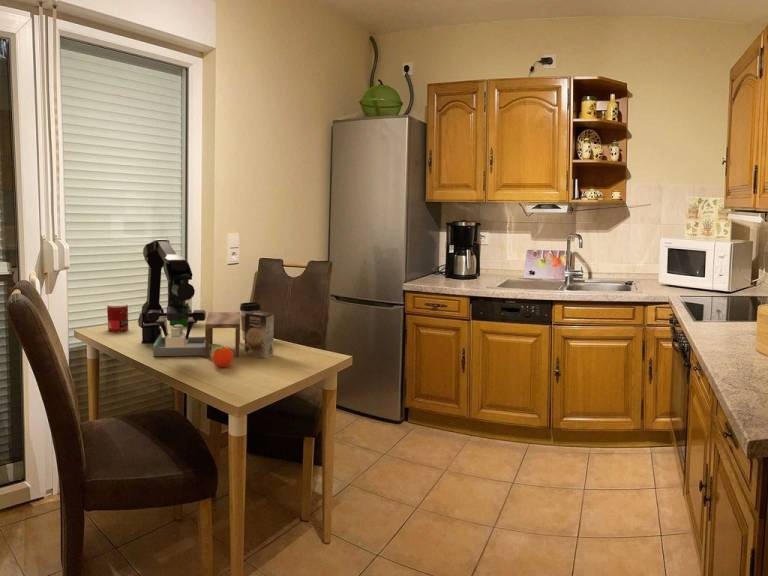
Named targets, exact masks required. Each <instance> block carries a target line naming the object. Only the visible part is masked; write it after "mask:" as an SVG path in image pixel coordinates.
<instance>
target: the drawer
mask: <svg viewBox="0 0 768 576" xmlns="http://www.w3.org/2000/svg"><path fill="white" fill-rule="evenodd" d="M152 350H153V351H152V354H153V357H181V356H205V336H189V337H188V342H187V344H186V345H185V347H184V348H166V347H165V336H163V334H162V335H159V336H158V338H157V340H156V341H155V343H153V346H152Z"/></svg>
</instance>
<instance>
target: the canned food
mask: <svg viewBox="0 0 768 576" xmlns="http://www.w3.org/2000/svg"><path fill="white" fill-rule="evenodd" d="M106 306H107V307H106V309H107V310H106V312H107V329H108V331H109V332H111V331H114V332H113V333H119V332H118V331H122V332H126V331H128V329H129V304H128V303H126V302H125V303H124V302H111V303H107V305H106ZM125 330H126V331H125Z"/></svg>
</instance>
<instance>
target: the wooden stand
mask: <svg viewBox="0 0 768 576" xmlns="http://www.w3.org/2000/svg"><path fill="white" fill-rule="evenodd" d="M204 325H205V326H204V329H205V330H204V331H205V333H204V337H205V355H204V356H205V359H210V358H211V353H210V352H211V345H213V344H214V339H213V337H214V334H213V333H214V331H213V330H214V329H234V330H235V333H234V334H235V336H234V338H235V340H234V341H235V348H234V350H235V351H234V352H235V354H234V356H235V357H234V358H240V350H241V349H240V348H241V347H240V344H241V311H240V312H239V311H237V312H236V311H234V312H233V311H231V312H229V311H228V312H226V311H225V312H223V311H219V312H217V311H214V312H213V311H209V312H208V314H207V316H206V319H205V323H204Z"/></svg>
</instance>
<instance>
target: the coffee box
mask: <svg viewBox="0 0 768 576" xmlns="http://www.w3.org/2000/svg"><path fill="white" fill-rule="evenodd" d="M274 323H275V313H273V312H267V311H261V310H260V311H251V312H248V313H245V340H244V356H247V357H248V356H249V357H253V358H258V359H259V358H260V359H267V358H269V357H271V356H273V355H274V331H275V330H274V329H275V328H274V326H275V325H274ZM272 354H273V355H272ZM270 355H271V356H270ZM268 356H269V357H268ZM266 357H267V358H266Z"/></svg>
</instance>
